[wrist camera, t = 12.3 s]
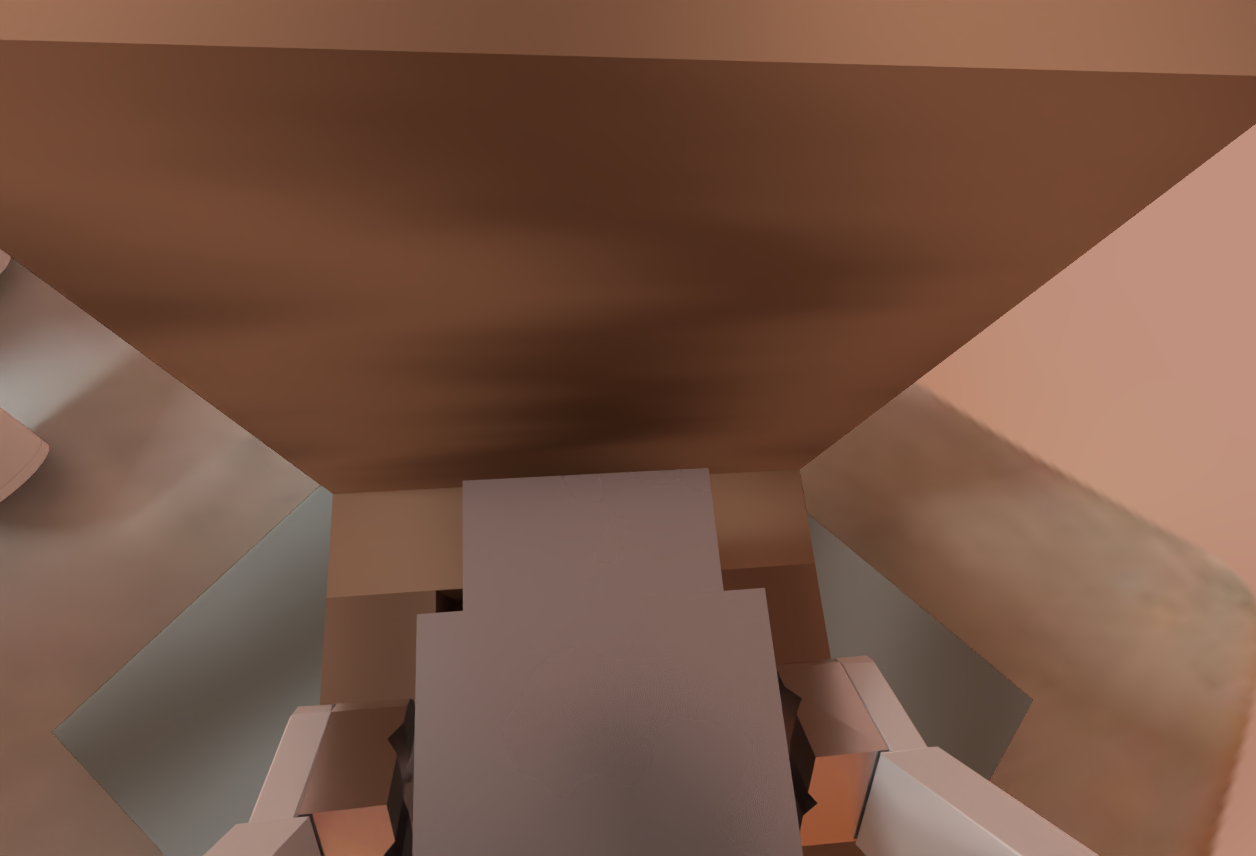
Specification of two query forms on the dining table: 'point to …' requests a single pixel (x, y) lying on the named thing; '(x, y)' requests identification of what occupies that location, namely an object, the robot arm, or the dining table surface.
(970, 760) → the wooden square ring bracket
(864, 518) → the dining table surface
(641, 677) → the pin
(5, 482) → the wall hook
